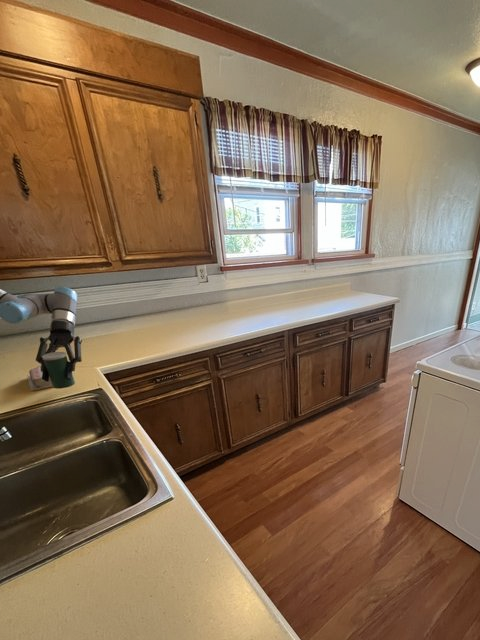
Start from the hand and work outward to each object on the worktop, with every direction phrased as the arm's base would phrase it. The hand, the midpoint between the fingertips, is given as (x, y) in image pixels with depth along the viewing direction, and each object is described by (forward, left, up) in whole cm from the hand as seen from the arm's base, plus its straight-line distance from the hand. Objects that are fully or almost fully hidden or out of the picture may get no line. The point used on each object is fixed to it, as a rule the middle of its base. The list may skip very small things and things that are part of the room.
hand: (56, 379), depth 120 cm
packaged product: (-14, +17, -7) cm, 23 cm away
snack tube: (0, +3, -4) cm, 5 cm away
